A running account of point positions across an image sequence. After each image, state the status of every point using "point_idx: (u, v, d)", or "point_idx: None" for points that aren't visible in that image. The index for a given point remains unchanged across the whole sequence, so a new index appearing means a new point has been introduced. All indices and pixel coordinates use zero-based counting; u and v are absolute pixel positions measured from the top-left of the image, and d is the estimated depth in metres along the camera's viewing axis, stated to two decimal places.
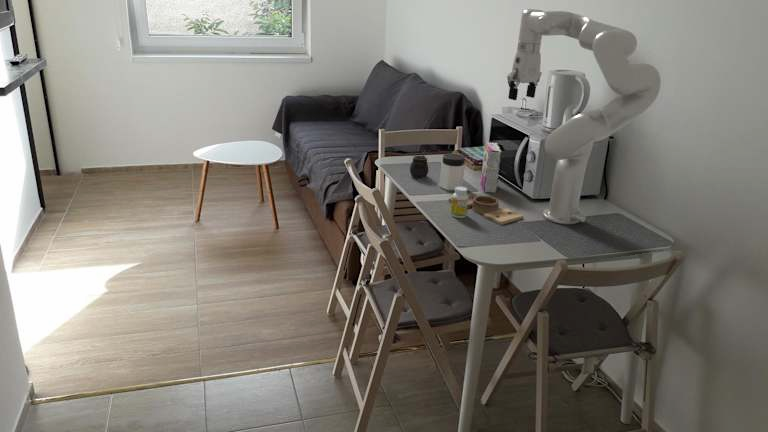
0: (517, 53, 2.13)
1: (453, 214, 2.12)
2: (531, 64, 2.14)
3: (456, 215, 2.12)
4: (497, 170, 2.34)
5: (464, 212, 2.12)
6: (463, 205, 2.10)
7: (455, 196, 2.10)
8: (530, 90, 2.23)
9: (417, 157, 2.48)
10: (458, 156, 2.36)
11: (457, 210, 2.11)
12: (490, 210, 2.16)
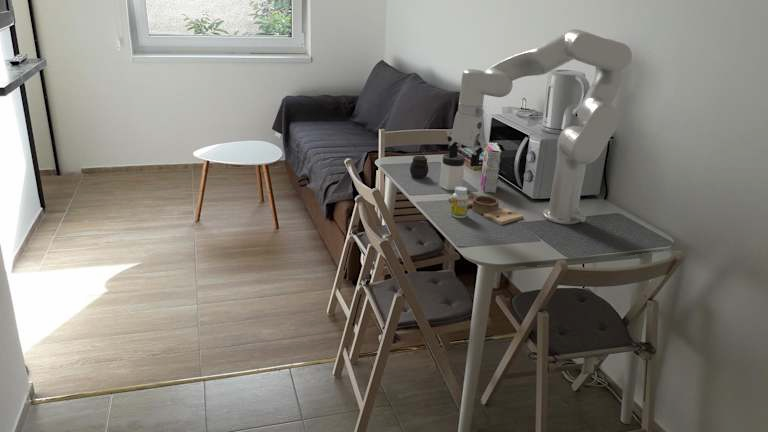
0: (476, 118, 1.98)
1: (453, 214, 2.12)
2: None
3: (456, 215, 2.12)
4: (497, 170, 2.34)
5: (464, 212, 2.12)
6: (463, 205, 2.10)
7: (455, 196, 2.10)
8: (454, 151, 2.09)
9: (417, 157, 2.48)
10: (458, 156, 2.36)
11: (457, 210, 2.11)
12: (490, 210, 2.16)
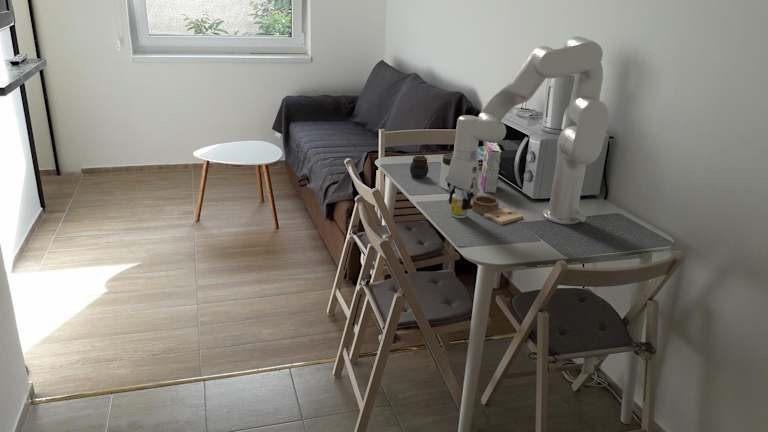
0: (471, 163, 2.03)
1: (453, 214, 2.12)
2: None
3: (456, 215, 2.12)
4: (497, 170, 2.34)
5: (464, 212, 2.12)
6: None
7: (455, 196, 2.10)
8: None
9: (417, 157, 2.48)
10: None
11: (457, 210, 2.11)
12: (490, 210, 2.16)
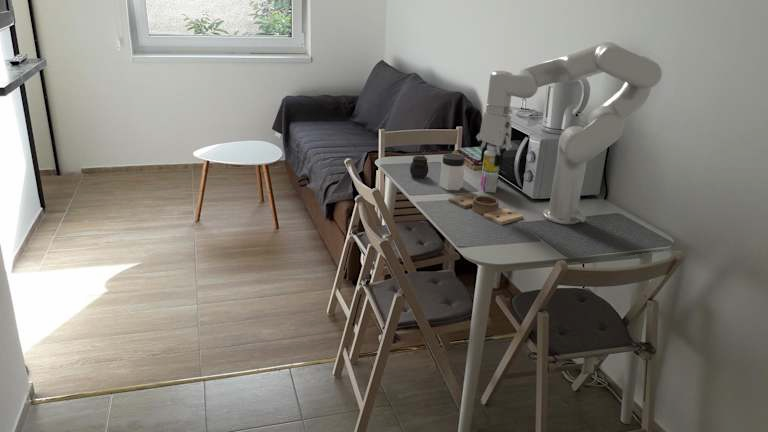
0: (504, 118, 2.05)
1: (485, 171, 2.14)
2: None
3: (488, 172, 2.13)
4: None
5: (496, 169, 2.13)
6: None
7: (487, 152, 2.11)
8: None
9: (417, 157, 2.48)
10: (458, 156, 2.36)
11: (489, 167, 2.12)
12: (490, 210, 2.16)
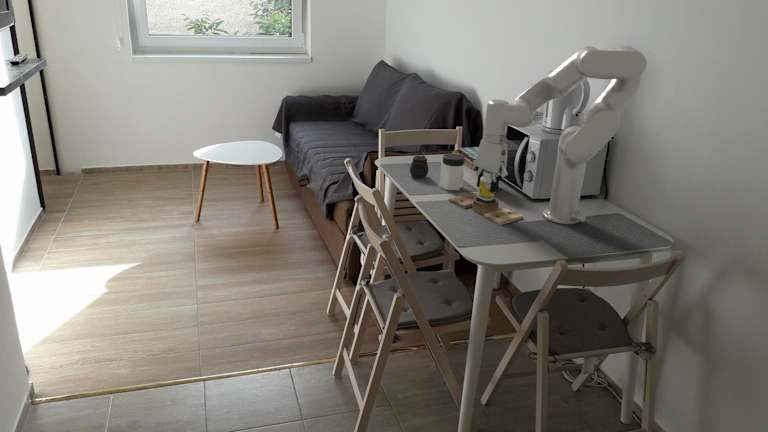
0: (501, 146, 2.08)
1: (481, 197, 2.17)
2: None
3: (484, 198, 2.17)
4: None
5: (492, 195, 2.17)
6: None
7: (483, 179, 2.15)
8: None
9: (417, 157, 2.48)
10: (458, 156, 2.36)
11: (485, 193, 2.16)
12: (490, 210, 2.16)
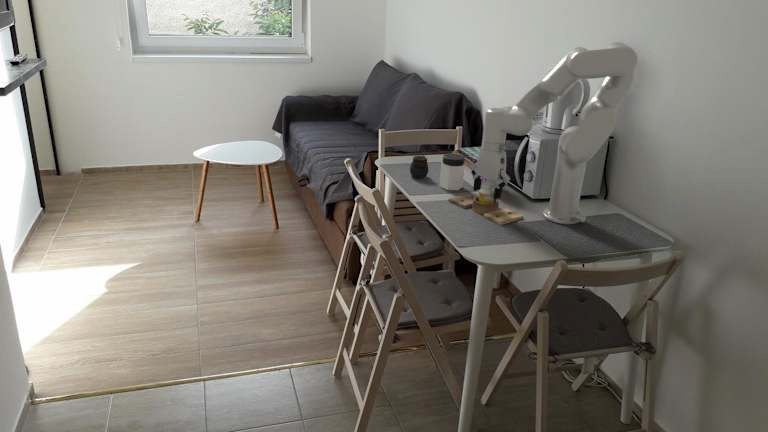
0: (500, 154, 2.09)
1: None
2: None
3: None
4: None
5: None
6: (490, 199, 2.17)
7: (482, 191, 2.17)
8: (478, 184, 2.21)
9: (417, 157, 2.48)
10: (458, 156, 2.36)
11: None
12: (490, 210, 2.16)
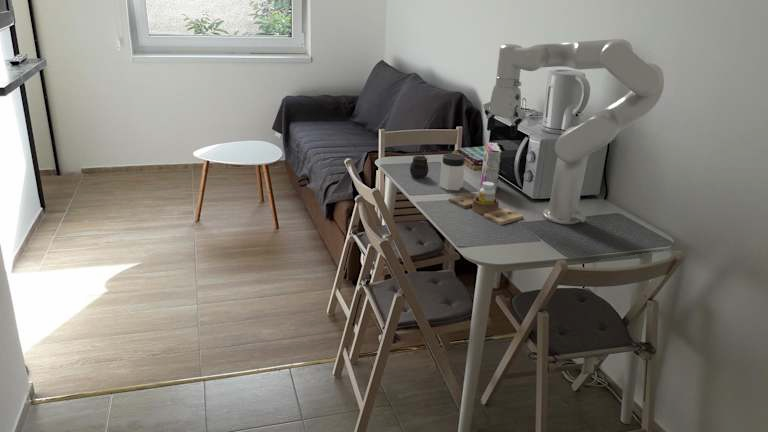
0: (515, 91, 2.09)
1: None
2: None
3: None
4: (497, 170, 2.34)
5: None
6: (490, 199, 2.17)
7: (482, 191, 2.17)
8: (492, 123, 2.20)
9: (417, 157, 2.48)
10: (458, 156, 2.36)
11: None
12: (490, 210, 2.16)
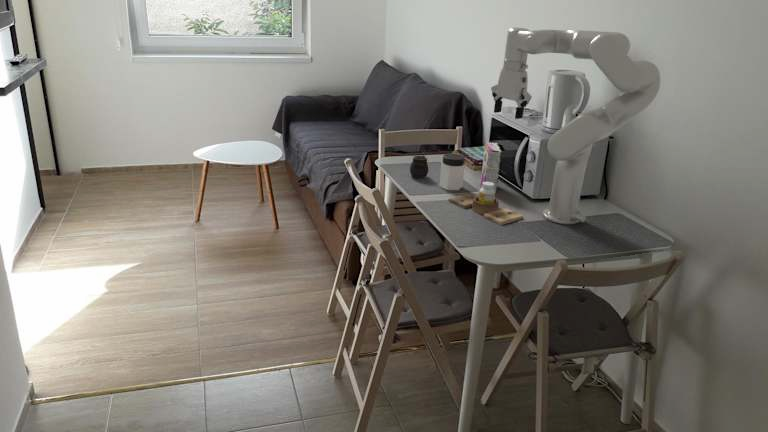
0: (521, 73, 2.13)
1: None
2: None
3: None
4: (497, 170, 2.34)
5: None
6: (490, 199, 2.17)
7: (482, 191, 2.17)
8: (499, 105, 2.25)
9: (417, 157, 2.48)
10: (458, 156, 2.36)
11: None
12: (490, 210, 2.16)
